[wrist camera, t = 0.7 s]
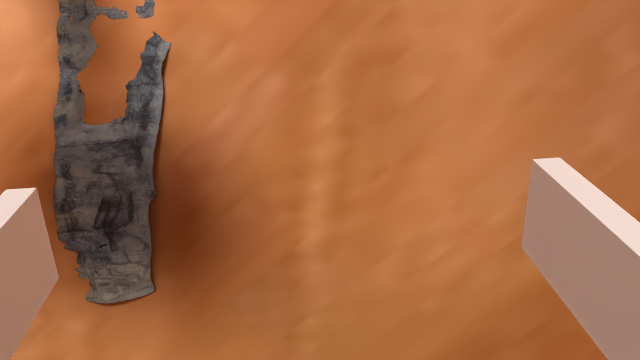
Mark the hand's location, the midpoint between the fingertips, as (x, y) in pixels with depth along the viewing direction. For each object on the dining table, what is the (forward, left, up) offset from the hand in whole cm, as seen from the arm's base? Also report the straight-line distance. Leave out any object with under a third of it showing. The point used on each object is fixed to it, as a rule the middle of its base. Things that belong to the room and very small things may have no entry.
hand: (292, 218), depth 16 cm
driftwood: (-2, +10, -23) cm, 25 cm away
